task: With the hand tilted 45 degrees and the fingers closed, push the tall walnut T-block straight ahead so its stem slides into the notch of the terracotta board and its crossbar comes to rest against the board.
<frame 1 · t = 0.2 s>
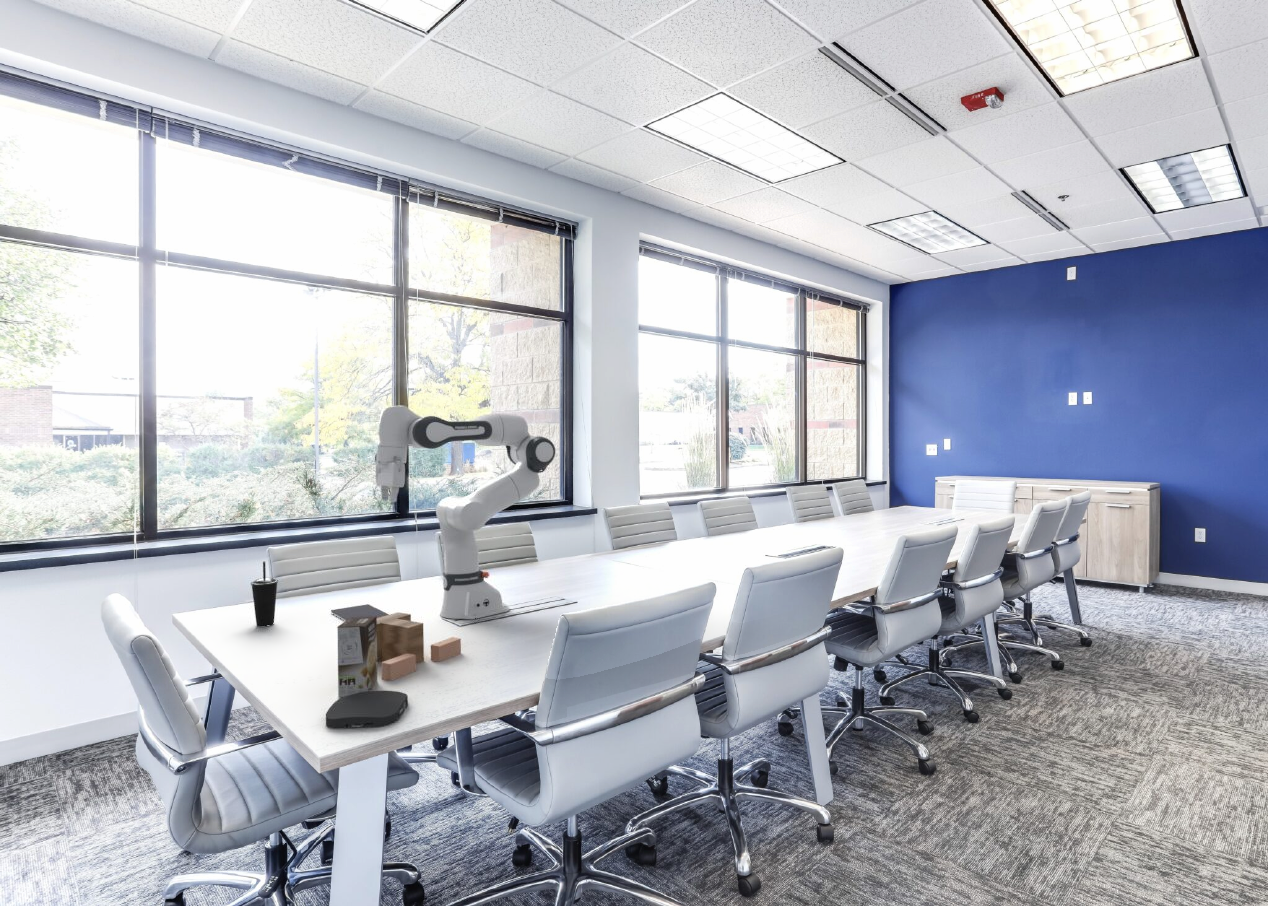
hand: (388, 501, 215), 39 cm above the table, tool pointing down, fingers open, 8 cm apart
t block: (396, 659, 182), on the table
media streaming box: (368, 716, 146), on the table
notebook: (360, 618, 228), on the table
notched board: (423, 665, 178), on the table
coffee box: (358, 690, 161), on the table
drinking cup: (265, 625, 218), on the table
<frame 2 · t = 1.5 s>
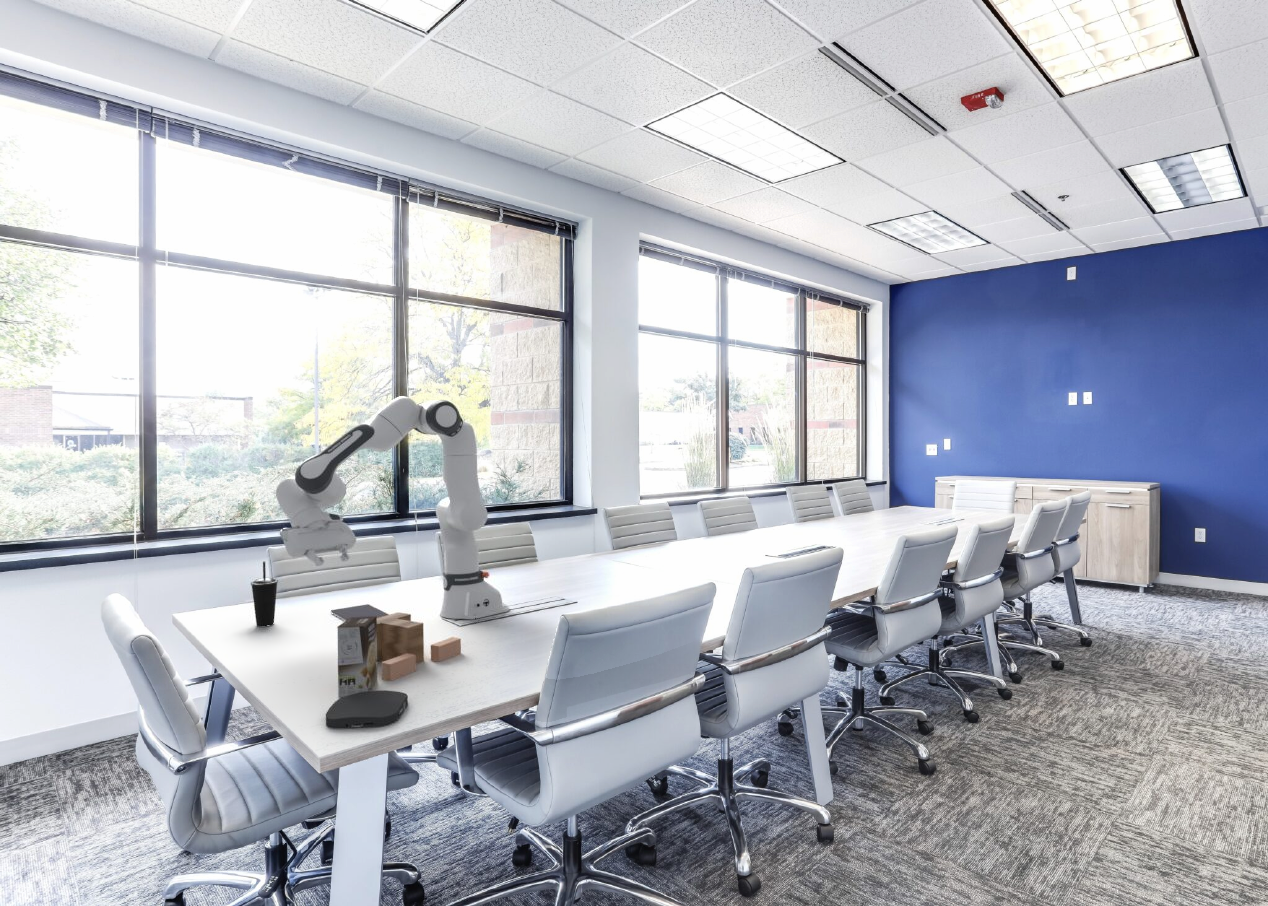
hand: (333, 562, 194), 24 cm above the table, tool tilted 45°, fingers open, 7 cm apart
nothing on the table moved.
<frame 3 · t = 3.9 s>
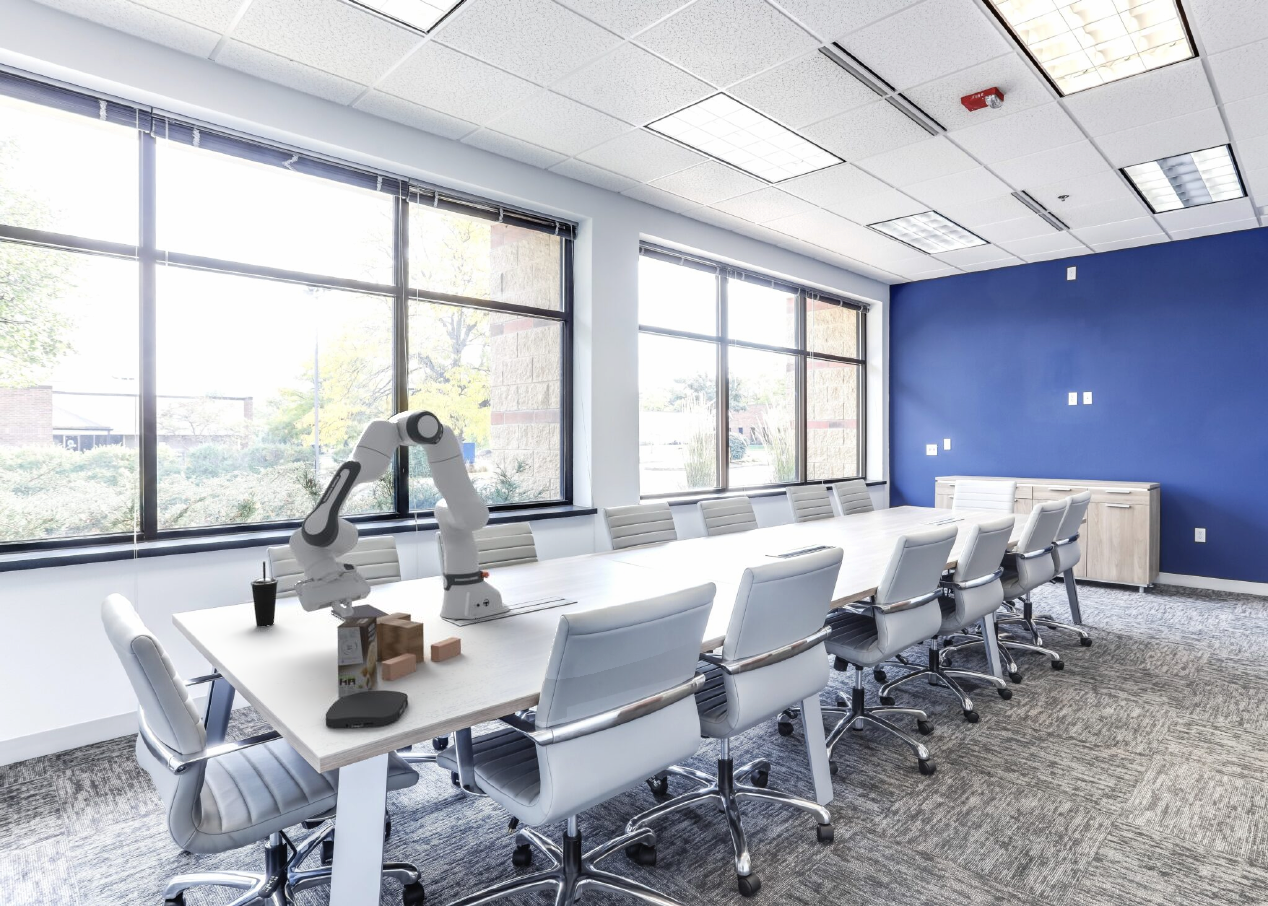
hand: (348, 614, 191), 10 cm above the table, tool tilted 45°, fingers closed
nothing on the table moved.
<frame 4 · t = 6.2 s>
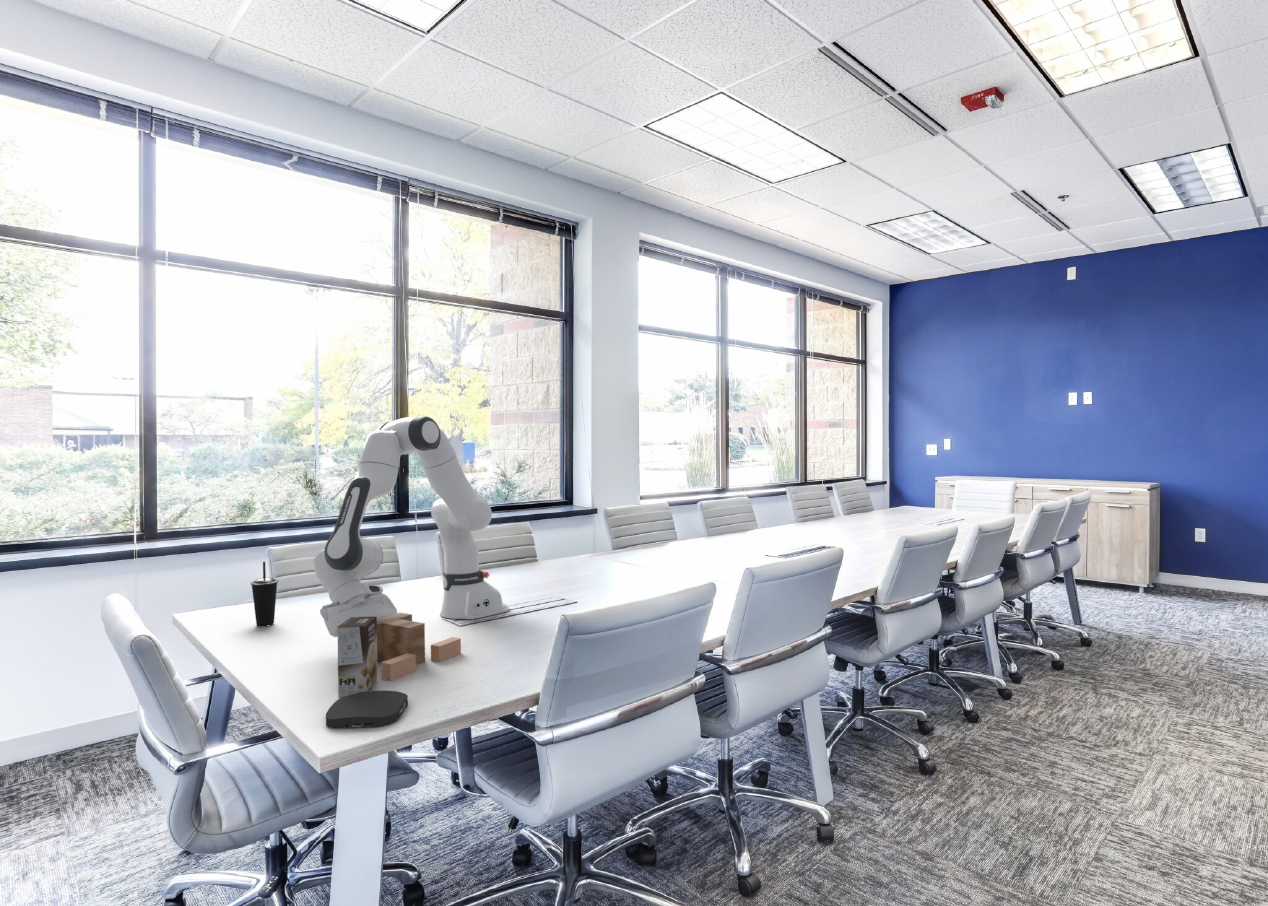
hand: (375, 639, 186), 4 cm above the table, tool tilted 45°, fingers closed, pressing on t block
t block: (397, 659, 182), on the table, touching gripper
everything else where it was.
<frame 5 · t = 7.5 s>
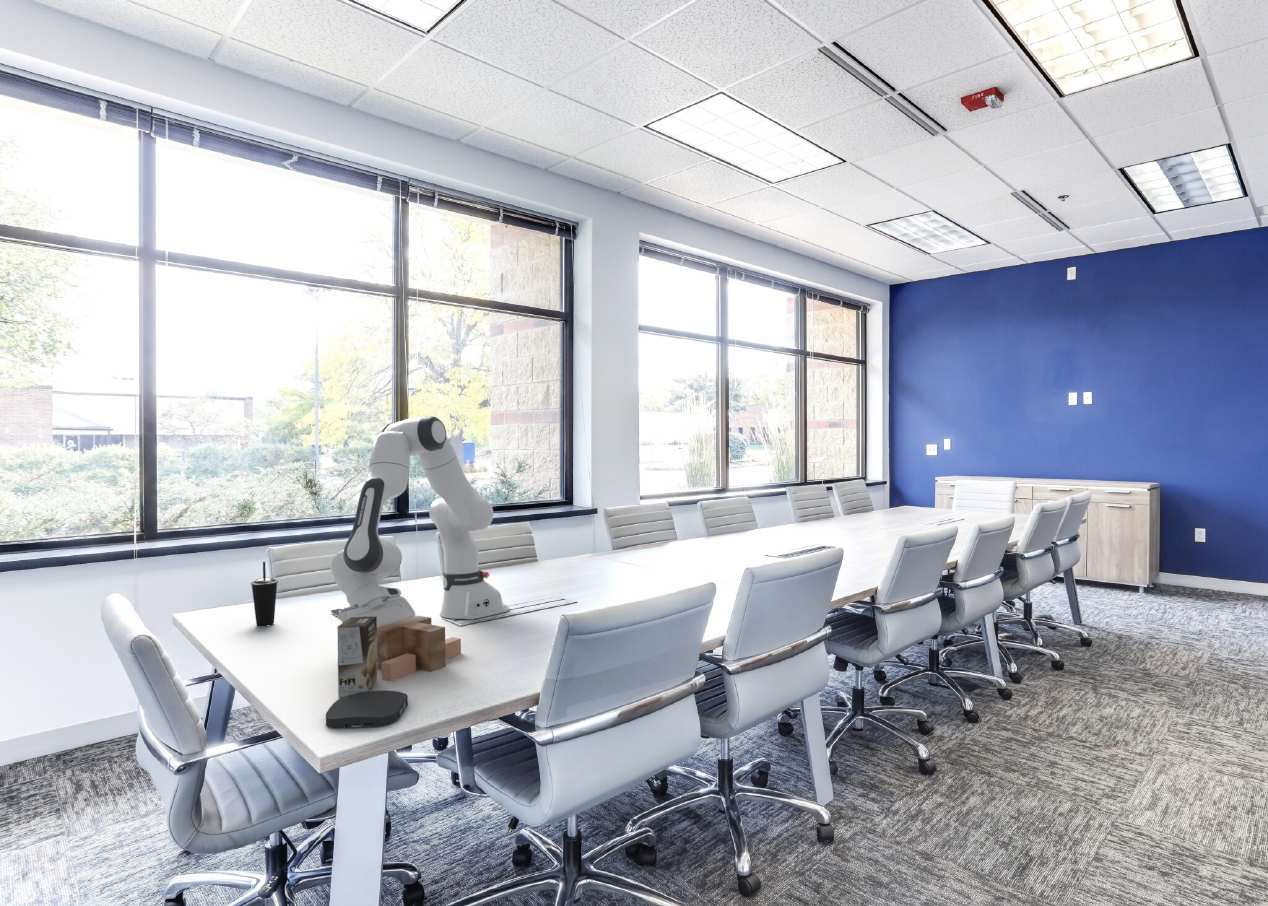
hand: (394, 642, 182), 4 cm above the table, tool tilted 45°, fingers closed
t block: (417, 664, 179), on the table
everything else where it was.
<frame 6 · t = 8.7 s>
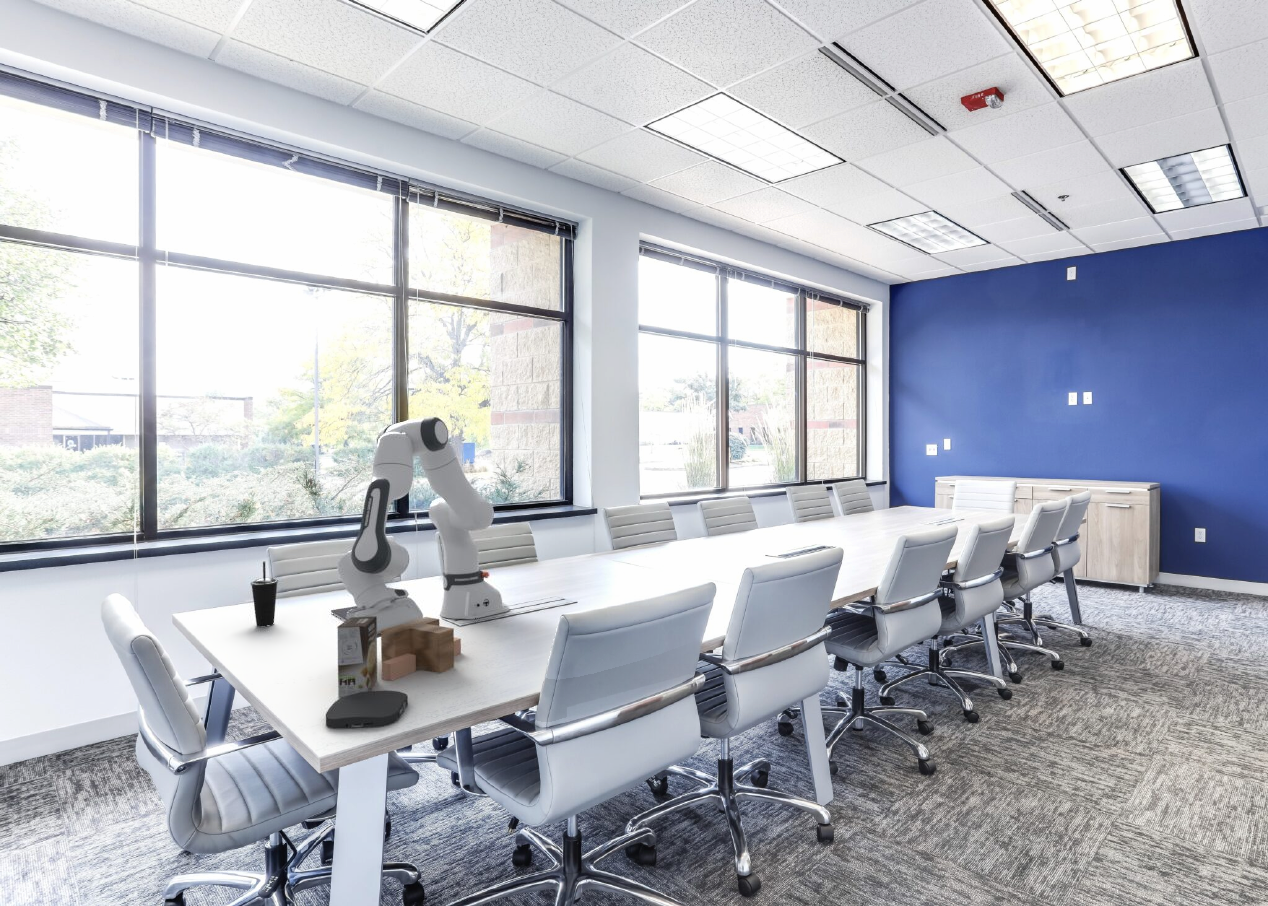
hand: (402, 644, 181), 4 cm above the table, tool tilted 45°, fingers closed, pressing on t block
t block: (425, 665, 177), on the table, touching gripper
everything else where it was.
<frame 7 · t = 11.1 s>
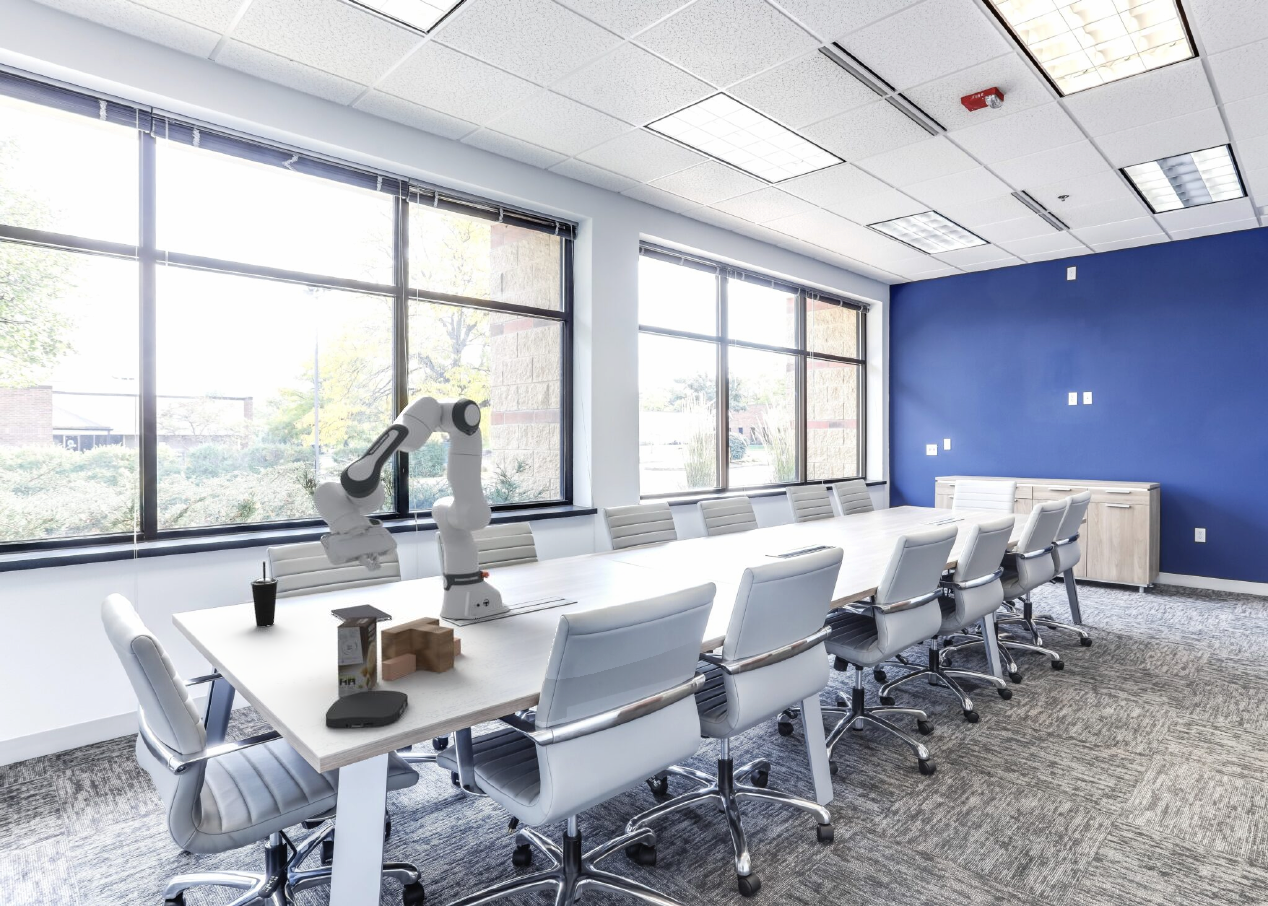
hand: (376, 569, 186), 23 cm above the table, tool tilted 45°, fingers closed
t block: (425, 665, 177), on the table
everything else where it was.
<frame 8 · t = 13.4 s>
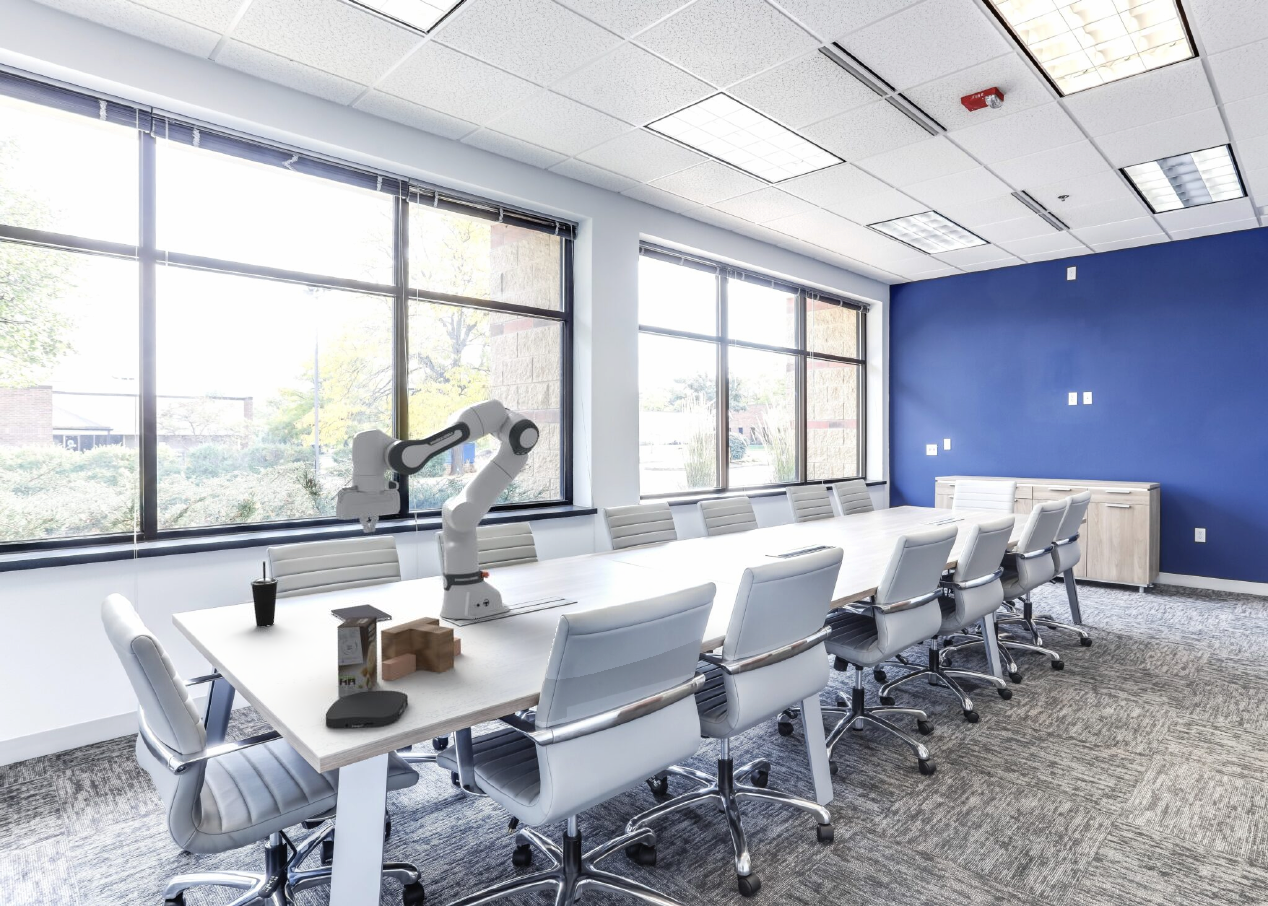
hand: (369, 532, 202), 31 cm above the table, tool pointing down, fingers closed
nothing on the table moved.
at the end: t block 0.7 cm from the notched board (horizontally); t block tilted 0° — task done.
